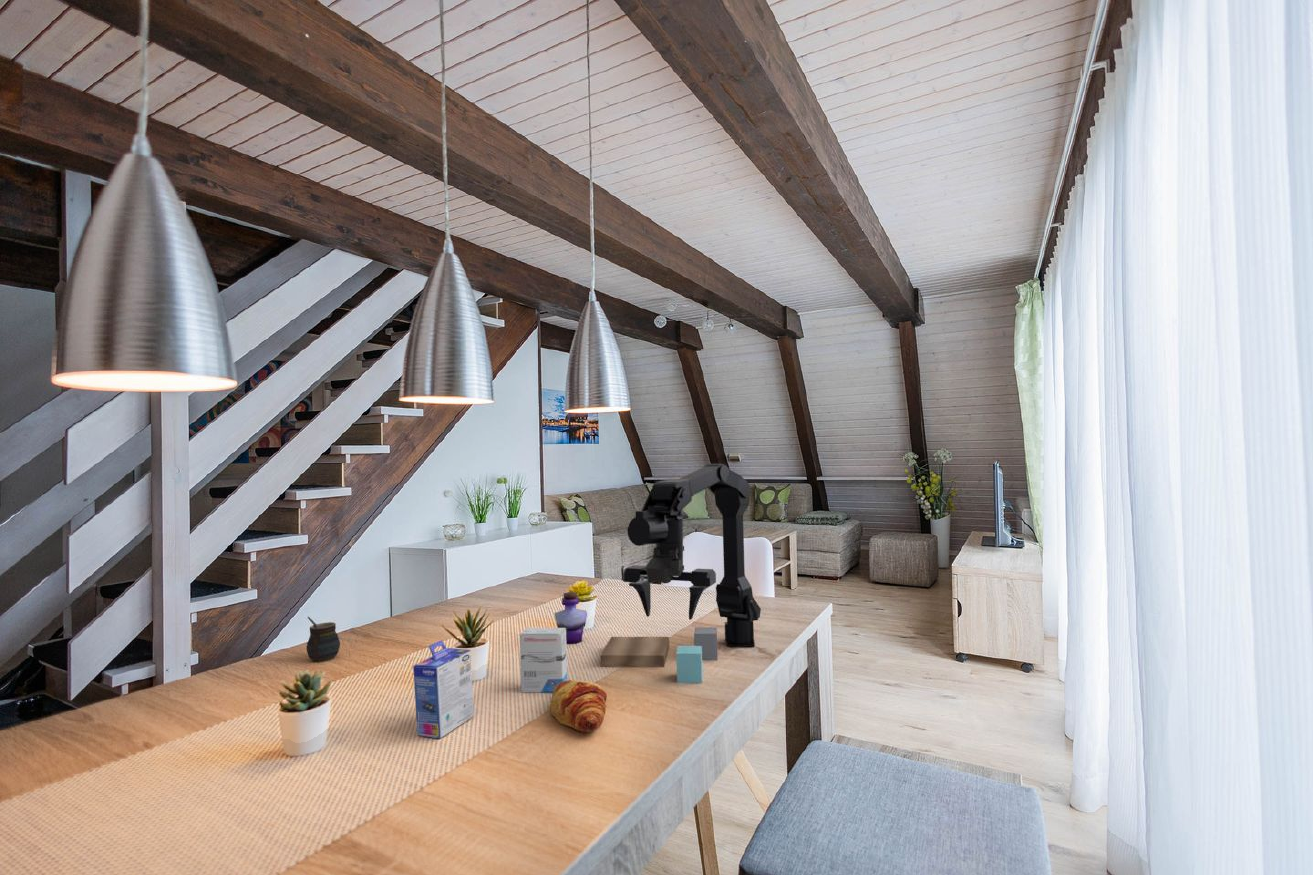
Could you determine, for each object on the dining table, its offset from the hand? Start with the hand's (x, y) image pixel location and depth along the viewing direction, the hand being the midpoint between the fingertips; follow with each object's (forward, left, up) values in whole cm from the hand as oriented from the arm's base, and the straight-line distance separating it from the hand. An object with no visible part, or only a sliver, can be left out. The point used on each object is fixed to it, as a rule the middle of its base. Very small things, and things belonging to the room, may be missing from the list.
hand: (669, 617), depth 136 cm
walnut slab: (+9, -14, -13) cm, 21 cm away
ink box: (+25, +6, -13) cm, 29 cm away
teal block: (-4, 0, -13) cm, 13 cm away
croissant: (+15, +19, -13) cm, 27 cm away
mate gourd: (+84, -12, -13) cm, 86 cm away
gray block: (-7, -14, -13) cm, 20 cm away
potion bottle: (+27, -26, -13) cm, 40 cm away
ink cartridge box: (+38, +24, -13) cm, 47 cm away
